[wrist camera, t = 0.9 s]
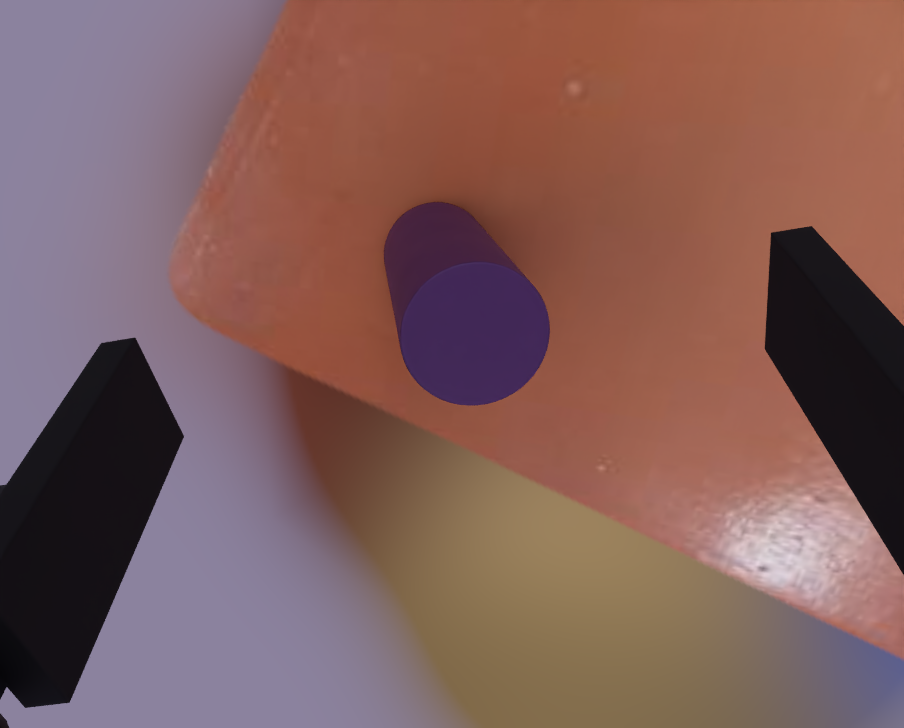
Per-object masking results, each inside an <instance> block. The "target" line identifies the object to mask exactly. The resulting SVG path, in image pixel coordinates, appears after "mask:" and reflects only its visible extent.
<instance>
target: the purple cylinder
mask: <svg viewBox="0 0 904 728" xmlns="http://www.w3.org/2000/svg"><path fill="white" fill-rule="evenodd" d="M384 262H385V268H386V273H387V279H388V284H389V289H390V295H391V300H392V305H393V311H394V316H395V321H396V327H397V332H398V337H399V342H400V348H401V352H402V356H403V359H404V362H405V364H406V366H407V369H408V370H409V372H410V374H411V375H412V377H413V378H414V379H415V380H416V381H417V383H418V384H419V385H420V386H421V387H423V388H424V389H425V390H426V391H428V392H429V393H430V394H432V395H434V396H435V397H437V398H439V399H442V400H444V401H447V402H450V403H454V404H459V405H483V404H488V403H492V402H496V401H498V400H501V399H503V398H506V397H507V396H509V395H511V394H513V393H514V392H516V391H517V390H519V389H520V388H521V387H522V386H524V385H525V384H526V383H527V382H528V381H529V380H530V379H531V377H532V376H533V375H534V374H535V372H536V371H537V369H538V368H539V366H540V365H541V363H542V361H543V359H544V356H545V353H546V351H547V347H548V342H549V334H550V326H549V317H548V312H547V309H546V306H545V303H544V301H543V299H542V297H541V295H540V294H539V292H538V291H537V290H536V288H535V287H534V286H533V285H532V283H531V282H530V281H529V280H528V279H527V278H526V277H525V275H524V274H523V273H522V272H521V271H520V270H519V269H518V267H517V266H516V265H515V264H514V263H513V262H512V261H511V259H510V258H509V257H508V256H507V255H506V254H505V253H504V251H503V250H502V249H501V248H500V247H499V246H498V245H497V243H496V242H495V241H494V240H493V239H492V238H491V237H490V235H489V234H488V233H487V232H486V231H485V230H484V229H483V228H482V226H481V225H480V224H479V223H478V222H477V221H476V220H475V219H474V217H473V216H472V215H470V214H469V213H468V212H467V211H465V210H463V209H462V208H460V207H457V206H455V205H452V204H449V203H442V202H432V203H426V204H422V205H419V206H416V207H414V208H412V209H410V210H409V211H407V212H406V213H404V214H403V215H402V216H401V217H400V218H399V219H398V220H397V221H396V222H395V224H394V225H393V226H392V228H391V230H390V231H389V234H388V236H387V239H386V242H385V248H384Z"/></svg>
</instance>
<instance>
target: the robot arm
mask: <svg viewBox="0 0 904 728" xmlns="http://www.w3.org/2000/svg"><path fill="white" fill-rule="evenodd" d="M765 350H766V352H767V353H768V355H769V357H770V358H771V360H772V361H773V363H774V365H775V366H776V368H777V370H778V371H779V373H780V374H781V376H782V378H783V379H784V381H785V383H786V384H787V386H788V387H789V389H790V391H791V392H792V394H793V396H794V397H795V399H796V400H797V402H798V404H799V405H800V407H801V409H802V410H803V412H804V413H805V415H806V417H807V418H808V420H809V422H810V423H811V425H812V426H813V428H814V430H815V431H816V433H817V435H818V436H819V438H820V439H821V441H822V443H823V444H824V446H825V448H826V449H827V451H828V452H829V454H830V456H831V457H832V459H833V461H834V462H835V464H836V465H837V467H838V469H839V470H840V472H841V474H842V475H843V477H844V479H845V480H846V482H847V483H848V485H849V487H850V488H851V490H852V492H853V493H854V495H855V496H856V498H857V500H858V501H859V503H860V505H861V506H862V508H863V509H864V511H865V513H866V514H867V516H868V518H869V519H870V521H871V522H872V524H873V526H874V527H875V529H876V531H877V532H878V534H879V535H880V537H881V539H882V540H883V542H884V544H885V545H886V547H887V548H888V550H889V552H890V553H891V555H892V557H893V558H894V560H895V561H896V563H897V565H898V566H899V568H900V570H901V571H902V573H903V574H904V326H903V325H902V324H901V323H900V322H899V320H898V319H897V318H896V317H895V316H894V315H893V314H892V313H891V312H890V311H889V310H888V308H887V307H886V306H885V305H884V304H883V303H882V302H881V301H880V300H879V299H878V298H877V297H876V295H875V294H874V293H873V292H872V291H871V290H870V289H869V288H868V287H867V286H866V285H865V284H864V282H863V281H862V280H861V279H860V278H859V277H858V276H857V275H856V274H855V273H854V272H853V271H852V269H851V268H850V267H849V266H848V265H847V264H846V263H845V262H844V261H843V260H842V259H841V258H840V256H839V255H838V254H837V253H836V252H835V251H834V250H833V249H832V248H831V247H830V246H829V245H828V243H827V242H826V241H825V240H824V239H823V238H822V237H821V236H820V235H819V234H818V233H817V232H816V230H815V229H814V228H813V227H812V226H810V227H804V228H798V229H792V230H785V231H779V232H773V233H771V245H770V264H769V282H768V300H767V318H766V336H765ZM183 438H184V436H183V433H182V431H181V429H180V427H179V426H178V423H177V421H176V420H175V417H174V415H173V413H172V411H171V409H170V407H169V405H168V403H167V401H166V399H165V397H164V395H163V393H162V391H161V389H160V387H159V385H158V383H157V381H156V379H155V377H154V375H153V373H152V371H151V369H150V366H149V364H148V363H147V361H146V359H145V356H144V354H143V352H142V350H141V348H140V346H139V344H138V342H137V340H136V338H130V339H124V340H118V341H112V342H106V343H101V344H100V346H99V347H98V349H97V350H96V352H95V353H94V355H93V356H92V358H91V359H90V361H89V362H88V364H87V365H86V367H85V368H84V370H83V371H82V373H81V374H80V376H79V377H78V379H77V380H76V382H75V383H74V385H73V386H72V388H71V389H70V391H69V392H68V394H67V395H66V397H65V398H64V400H63V401H62V403H61V404H60V406H59V407H58V408H57V410H56V411H55V413H54V414H53V416H52V418H51V419H50V420H49V422H48V424H47V425H46V427H45V428H44V429H43V431H42V432H41V434H40V435H39V437H38V438H37V440H36V442H35V443H34V444H33V446H32V448H31V449H30V450H29V452H28V454H27V455H26V456H25V458H24V459H23V461H22V462H21V464H20V465H19V467H18V468H17V470H16V471H15V473H14V474H13V476H12V477H11V479H10V481H9V482H8V483H7V485H1V486H0V699H1V697H2V695H3V693H4V690H5V689H6V687H8V689H9V690H10V691H11V692H12V693H13V694H14V695H15V697H16V698H17V699H18V700H19V701H20V702H21V704H22V705H23V706H24V707H25V708H27V707H36V706H44V705H53V704H61V703H69V702H70V700H71V698H72V696H73V693H74V691H75V688H76V686H77V684H78V681H79V679H80V677H81V675H82V672H83V670H84V668H85V665H86V663H87V661H88V658H89V655H90V654H91V651H92V649H93V647H94V644H95V642H96V640H97V638H98V635H99V633H100V630H101V628H102V626H103V624H104V621H105V619H106V617H107V614H108V612H109V610H110V607H111V605H112V603H113V600H114V598H115V595H116V593H117V591H118V589H119V586H120V584H121V582H122V579H123V577H124V575H125V572H126V570H127V568H128V565H129V563H130V561H131V558H132V556H133V554H134V551H135V549H136V547H137V544H138V542H139V540H140V538H141V535H142V533H143V530H144V528H145V526H146V523H147V521H148V519H149V516H150V514H151V512H152V510H153V507H154V505H155V503H156V500H157V498H158V496H159V493H160V491H161V489H162V486H163V484H164V482H165V479H166V477H167V475H168V472H169V470H170V468H171V465H172V463H173V461H174V458H175V456H176V454H177V451H178V449H179V447H180V444H181V442H182V440H183ZM0 728H9V726H8V724H7V721H6V719H5V718H4V717H3V716H2V715H1V714H0Z"/></svg>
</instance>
